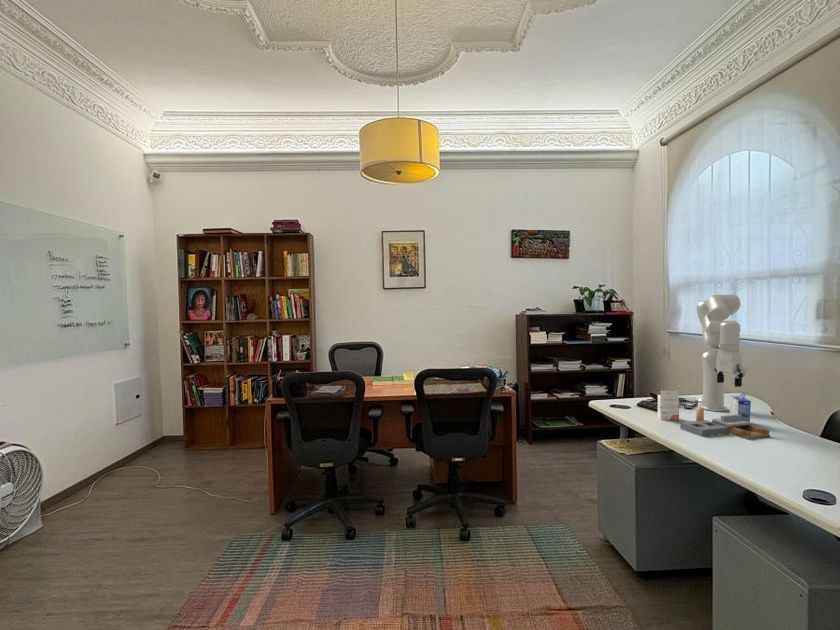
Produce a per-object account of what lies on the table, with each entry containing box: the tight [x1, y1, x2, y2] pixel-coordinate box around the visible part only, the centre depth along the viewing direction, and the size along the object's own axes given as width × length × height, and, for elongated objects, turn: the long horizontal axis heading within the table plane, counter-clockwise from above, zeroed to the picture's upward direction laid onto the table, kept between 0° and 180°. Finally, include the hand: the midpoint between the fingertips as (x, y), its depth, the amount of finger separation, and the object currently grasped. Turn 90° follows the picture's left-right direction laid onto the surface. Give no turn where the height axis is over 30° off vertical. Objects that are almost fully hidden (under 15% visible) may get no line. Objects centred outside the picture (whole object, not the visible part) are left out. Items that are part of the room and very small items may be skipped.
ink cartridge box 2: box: [729, 392, 752, 423], centre depth 207 cm, size 10×6×14 cm, turn 163°
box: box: [711, 420, 771, 440], centre depth 194 cm, size 18×12×3 cm, turn 12°
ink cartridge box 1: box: [657, 390, 680, 421], centre depth 216 cm, size 9×5×15 cm, turn 76°
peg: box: [695, 406, 705, 421], centre depth 206 cm, size 3×3×8 cm
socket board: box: [679, 419, 730, 437], centre depth 196 cm, size 12×14×3 cm
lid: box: [712, 414, 751, 426], centre depth 198 cm, size 9×11×3 cm
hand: (729, 384), depth 202 cm, fingers open, 9 cm apart
